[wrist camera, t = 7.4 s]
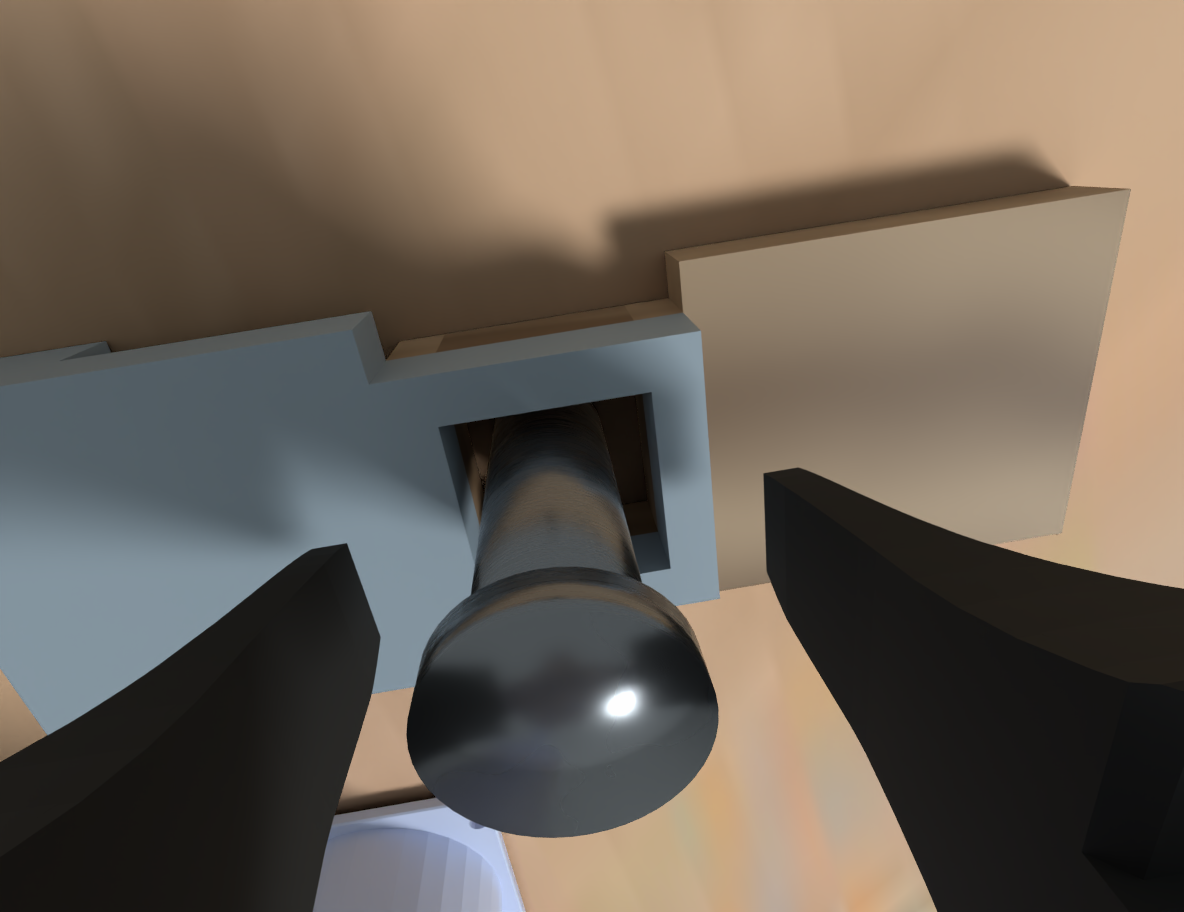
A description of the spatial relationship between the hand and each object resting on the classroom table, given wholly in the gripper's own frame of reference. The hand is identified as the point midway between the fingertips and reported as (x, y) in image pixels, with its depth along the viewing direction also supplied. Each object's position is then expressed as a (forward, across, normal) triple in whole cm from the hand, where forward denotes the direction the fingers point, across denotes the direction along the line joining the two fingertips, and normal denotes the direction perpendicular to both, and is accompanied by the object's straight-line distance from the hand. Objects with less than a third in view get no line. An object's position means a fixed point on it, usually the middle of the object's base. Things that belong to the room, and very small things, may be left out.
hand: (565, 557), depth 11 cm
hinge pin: (+5, 0, 0) cm, 5 cm away
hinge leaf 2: (+5, -5, 0) cm, 7 cm away
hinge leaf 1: (+5, +5, 0) cm, 7 cm away
